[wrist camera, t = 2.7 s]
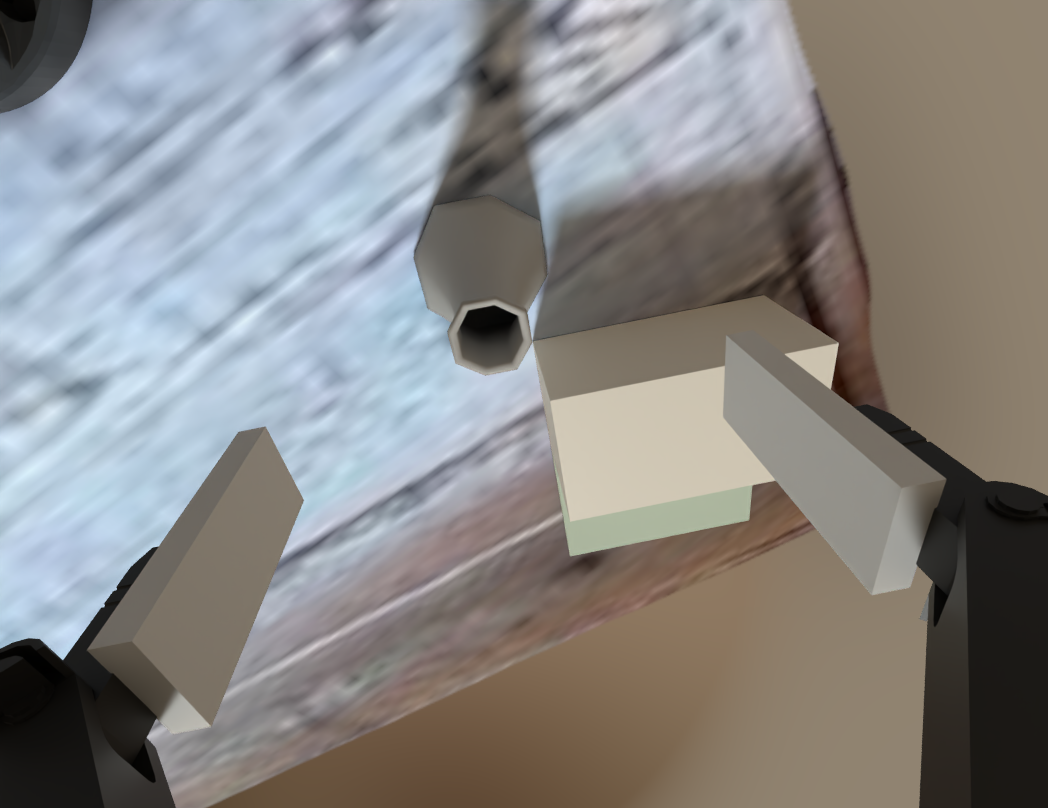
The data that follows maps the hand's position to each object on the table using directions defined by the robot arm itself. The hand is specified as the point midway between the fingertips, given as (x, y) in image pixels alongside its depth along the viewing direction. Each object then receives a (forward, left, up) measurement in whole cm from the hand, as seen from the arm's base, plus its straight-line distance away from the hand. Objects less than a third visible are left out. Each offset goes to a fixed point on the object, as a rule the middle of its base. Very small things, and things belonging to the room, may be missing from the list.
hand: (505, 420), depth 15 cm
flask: (0, 0, -16) cm, 16 cm away
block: (+9, +9, -15) cm, 20 cm away
